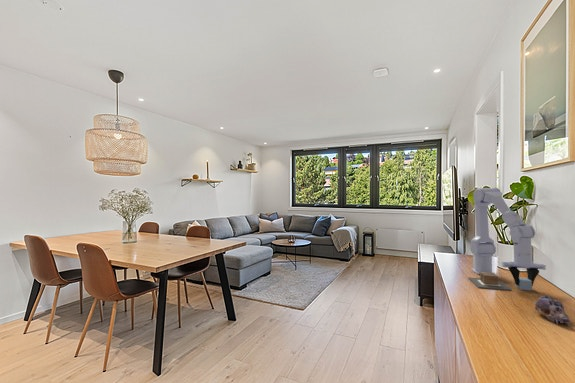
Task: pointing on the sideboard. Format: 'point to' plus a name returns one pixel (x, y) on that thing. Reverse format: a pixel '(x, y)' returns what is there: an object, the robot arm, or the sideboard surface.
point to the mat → (480, 284)
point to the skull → (552, 309)
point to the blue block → (524, 284)
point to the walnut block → (489, 278)
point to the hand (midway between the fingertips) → (523, 285)
